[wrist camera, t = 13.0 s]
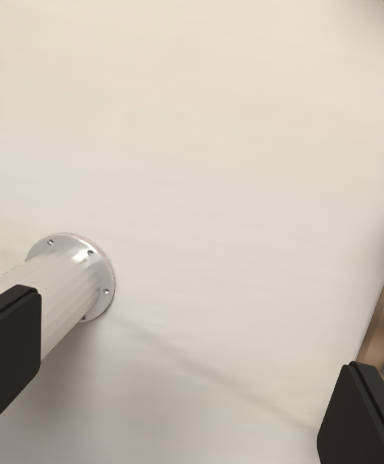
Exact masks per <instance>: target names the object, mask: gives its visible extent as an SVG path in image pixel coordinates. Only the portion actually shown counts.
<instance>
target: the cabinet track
mask: <svg viewBox="0 0 384 464" xmlns="http://www.w3.org/2000/svg"><path fill="white" fill-rule="evenodd" d="M356 362H360V363H364V364H368V365H373V366H375V367H376V368H377V370H378V372H379V373H380V375H381V377H382V378H383V380H384V287H383V290H382V293H381V296H380V298H379V301H378V304H377V306H376V309H375V312H374V314H373V317H372V320H371V323H370V325H369V328H368V331H367V333H366V336H365V339H364V341H363V344H362V347H361V350H360V352H359V355H358V358H357V360H356Z"/></svg>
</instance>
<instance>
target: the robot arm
mask: <svg viewBox="0 0 384 464" xmlns="http://www.w3.org/2000/svg"><path fill="white" fill-rule="evenodd" d="M92 251H93V252H92ZM114 290H115V279H114V273H113V270H112V267H111V265H110V263H109V261H108V259H107V258H106V256H105V255H104V254H103V252H102V251H101V250H100V249H99V248H98V247H97V246H96V245H94V244H93V243H91V242H90V241H88V240H87V239H85V238H82V237H80V236H77V235H73V234H66V233H60V234H54V235H51V236H48V237H46V238H44V239H42V240H40V241H38V242H37V243H36V244H35V245H34V246H33V247H32V248H31V250H30V251H29V252H28V255H27V257H26V259H25V263H23V264H21V265H19V266H17V267H15V268H14V269H12V270H10V271H8V272H6V273H4V274H2V275H0V414H1V413H2V412H3V411H4V410H5V409H6V408H7V407H8V406H9V404H10V403H11V402H12V401H13V400H14V399H15V398H16V397H17V396H18V394H19V393H20V392H21V391H22V390H23V389H24V388H25V387H26V386H27V384H28V383H29V382H30V381H31V380H32V379H33V378H34V377H35V375H36V374H37V372H38V371H39V368H40V364H41V361H42V360H43V359H44V358H45V357H46V356H47V354H48V353H49V352H50V351H51V350H52V349H53V348H54V347H55V346H56V345H57V344H58V343H59V342H60V341H61V340H62V338H63V337H64V336H65V335H66V334H67V333H68V332H69V331H70V330H71V329H72V328H73V327H74V326H75V325H76V323H81V322H86V321H90V320H92V319H94V318H96V317H98V316H99V315H100V314H101V313H103V312H104V310H105V309H106V308H107V307H108V305H109V304H110V302H111V300H112V298H113V295H114ZM317 450H318V454H319V458H320V462H321V464H384V380H383V378H382V377H381V375H380V373H379V372H378V370H377V368H376V367H375V366H373V365H368V364H364V363H360V362H355V361H351V362H350V363H349V365H343V366H342V369H341V371H340V374H339V377H338V380H337V382H336V385H335V388H334V391H333V394H332V396H331V399H330V402H329V405H328V408H327V410H326V413H325V416H324V419H323V422H322V424H321V427H320V430H319V433H318V436H317Z"/></svg>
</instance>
